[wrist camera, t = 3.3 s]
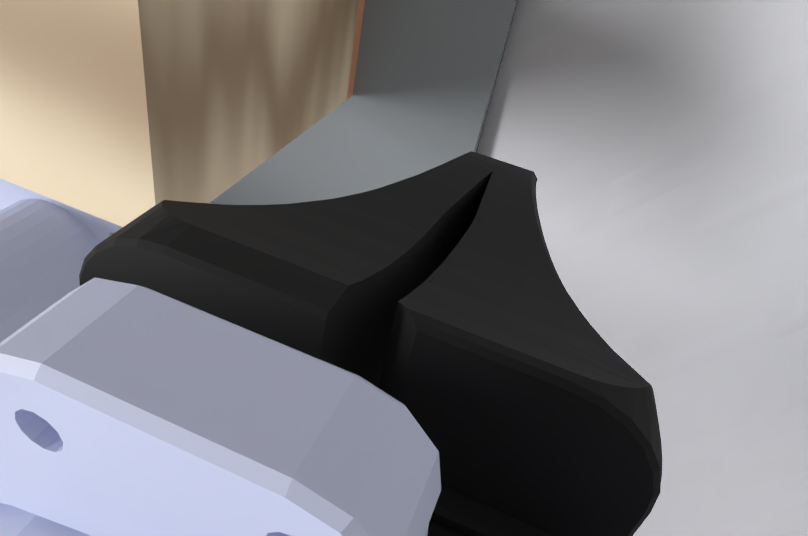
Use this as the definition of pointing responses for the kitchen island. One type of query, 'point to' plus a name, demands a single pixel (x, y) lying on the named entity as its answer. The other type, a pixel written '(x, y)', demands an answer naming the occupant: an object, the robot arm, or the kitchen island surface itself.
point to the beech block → (163, 93)
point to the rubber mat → (394, 104)
